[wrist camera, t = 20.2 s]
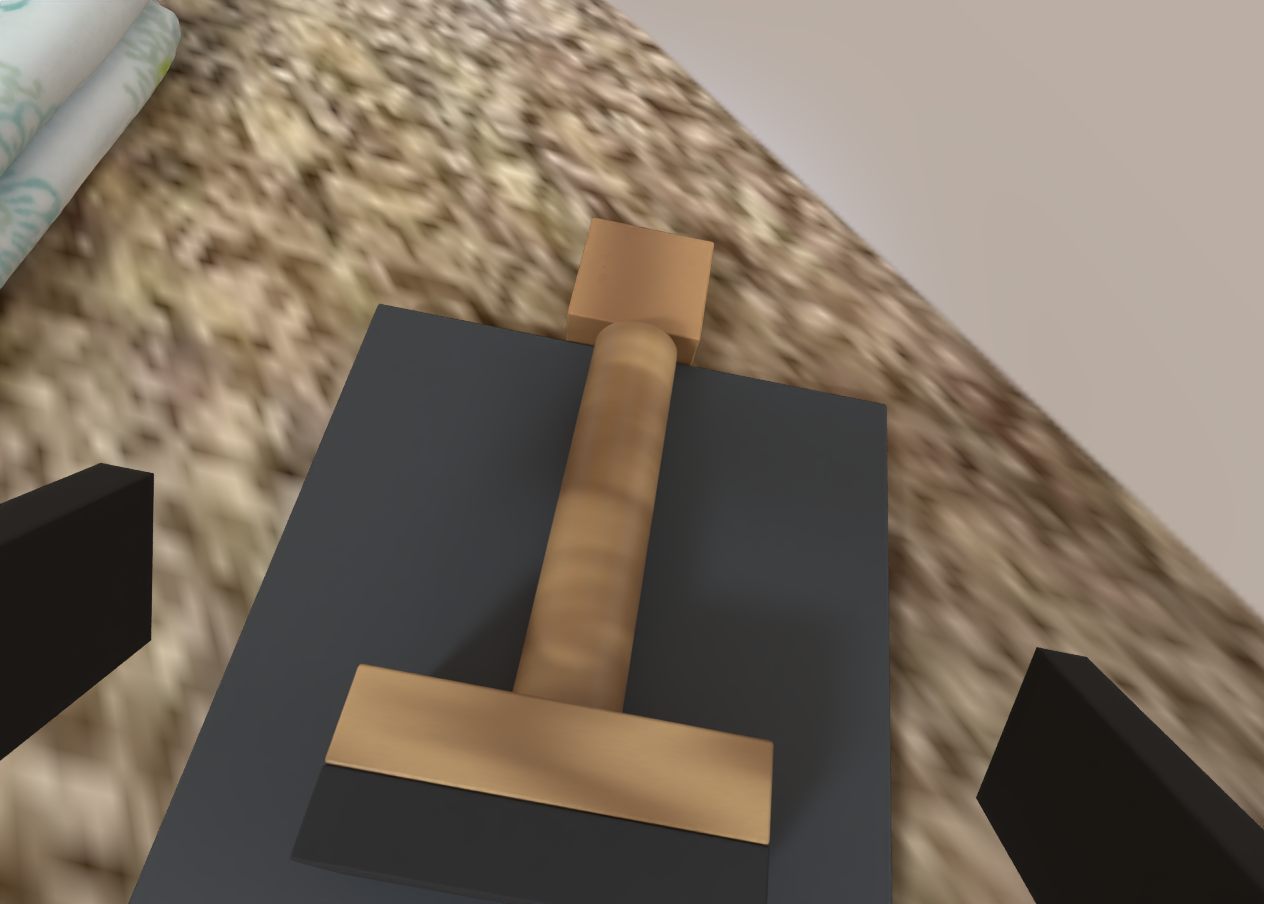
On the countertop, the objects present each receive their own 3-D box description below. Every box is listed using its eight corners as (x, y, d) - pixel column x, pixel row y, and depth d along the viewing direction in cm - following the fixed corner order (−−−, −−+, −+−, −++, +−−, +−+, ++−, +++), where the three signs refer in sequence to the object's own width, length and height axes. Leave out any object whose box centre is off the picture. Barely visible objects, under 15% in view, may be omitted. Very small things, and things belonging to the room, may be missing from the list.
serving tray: (871, 423, 24) (887, 404, 23) (871, 1287, 14) (898, 1322, 13) (385, 326, 24) (377, 302, 23) (51, 1151, 14) (13, 1175, 13)
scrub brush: (713, 941, 16) (753, 415, 23) (766, 947, 12) (792, 330, 20) (337, 873, 15) (501, 365, 23) (287, 859, 12) (498, 270, 20)
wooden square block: (700, 290, 26) (714, 241, 24) (685, 384, 24) (700, 340, 22) (587, 267, 26) (592, 216, 24) (564, 360, 24) (567, 312, 22)
